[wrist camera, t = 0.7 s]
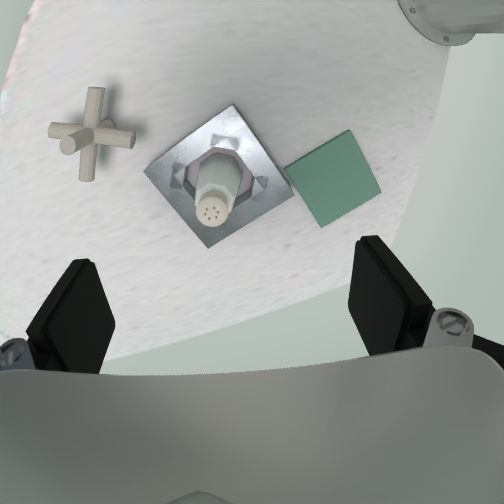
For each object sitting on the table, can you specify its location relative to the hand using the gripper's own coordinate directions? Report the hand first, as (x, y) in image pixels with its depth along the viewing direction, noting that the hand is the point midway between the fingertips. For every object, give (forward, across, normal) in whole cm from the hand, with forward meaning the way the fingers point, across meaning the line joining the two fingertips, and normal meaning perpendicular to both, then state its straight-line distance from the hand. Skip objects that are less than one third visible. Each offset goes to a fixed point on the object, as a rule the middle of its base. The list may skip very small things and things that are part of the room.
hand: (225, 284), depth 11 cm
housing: (+27, +1, +4) cm, 27 cm away
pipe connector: (+28, +14, -4) cm, 31 cm away
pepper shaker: (+27, +1, +4) cm, 28 cm away
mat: (+27, -12, +5) cm, 30 cm away
